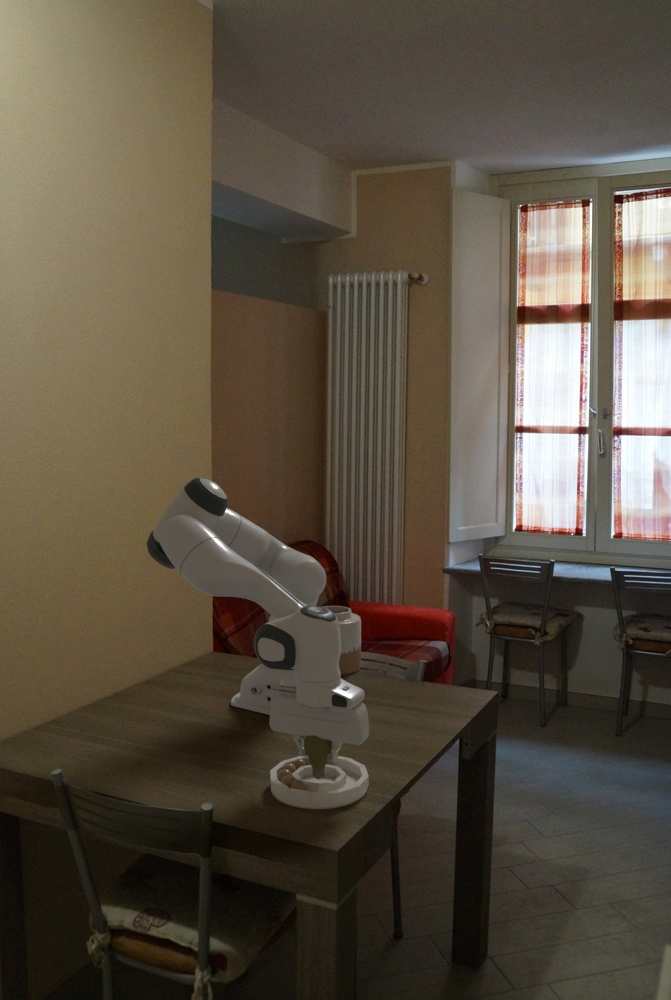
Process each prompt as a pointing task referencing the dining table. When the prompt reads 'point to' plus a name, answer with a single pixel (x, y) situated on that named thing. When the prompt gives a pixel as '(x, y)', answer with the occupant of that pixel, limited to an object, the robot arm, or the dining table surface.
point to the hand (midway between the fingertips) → (318, 758)
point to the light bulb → (317, 754)
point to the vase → (348, 639)
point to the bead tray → (322, 796)
